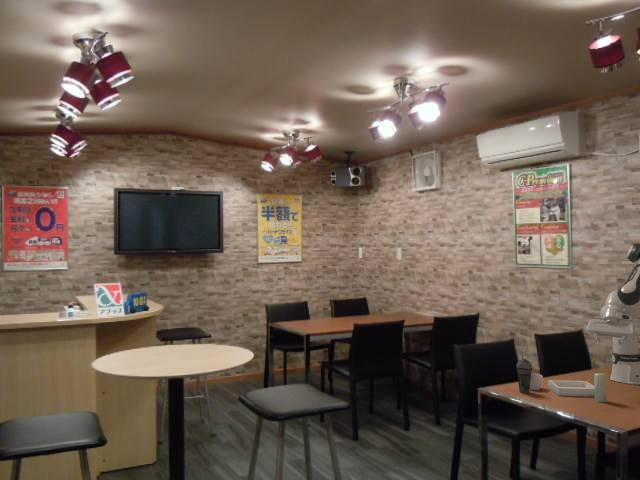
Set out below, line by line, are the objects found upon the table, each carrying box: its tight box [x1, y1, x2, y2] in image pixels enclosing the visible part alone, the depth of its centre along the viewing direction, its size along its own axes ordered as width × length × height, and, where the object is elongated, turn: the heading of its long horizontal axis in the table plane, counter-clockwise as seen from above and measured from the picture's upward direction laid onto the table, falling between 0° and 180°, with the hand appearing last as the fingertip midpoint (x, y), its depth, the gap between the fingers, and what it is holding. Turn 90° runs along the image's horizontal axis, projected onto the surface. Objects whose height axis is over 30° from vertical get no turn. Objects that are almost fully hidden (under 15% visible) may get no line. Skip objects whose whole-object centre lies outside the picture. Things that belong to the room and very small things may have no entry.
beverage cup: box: [516, 349, 533, 394], centre depth 262 cm, size 7×7×20 cm
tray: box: [547, 379, 594, 398], centre depth 262 cm, size 18×16×4 cm
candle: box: [530, 373, 544, 391], centre depth 269 cm, size 9×9×6 cm
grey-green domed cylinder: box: [593, 372, 608, 403], centre depth 246 cm, size 5×5×12 cm
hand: (608, 342), depth 255 cm, fingers open, 8 cm apart
